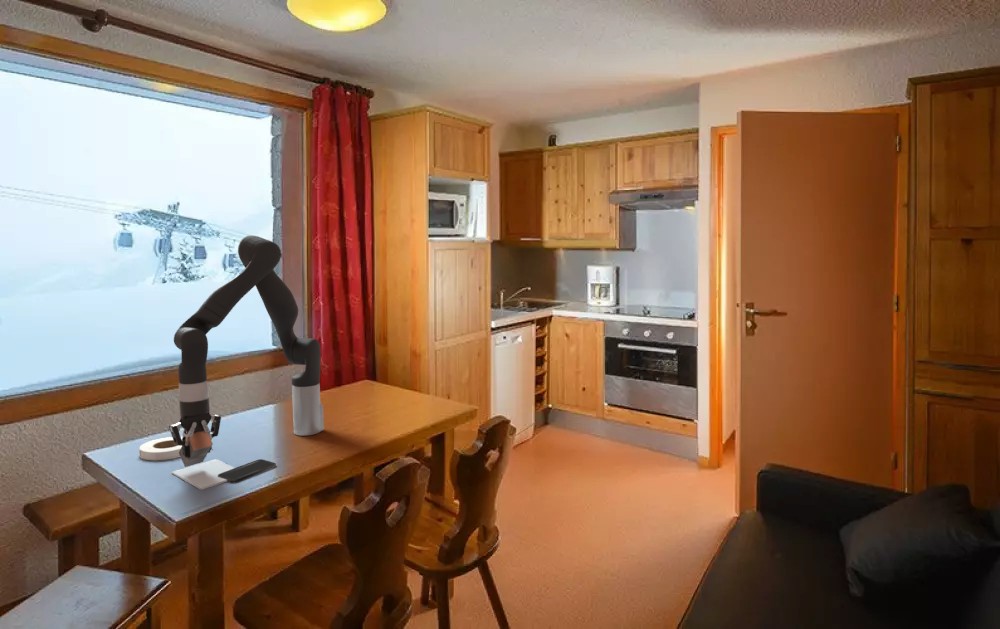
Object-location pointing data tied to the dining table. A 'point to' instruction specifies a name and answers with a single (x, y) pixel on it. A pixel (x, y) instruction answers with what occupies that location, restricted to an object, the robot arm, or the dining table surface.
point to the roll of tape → (160, 449)
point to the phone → (247, 470)
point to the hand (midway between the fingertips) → (197, 454)
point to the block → (197, 448)
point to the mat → (204, 474)
